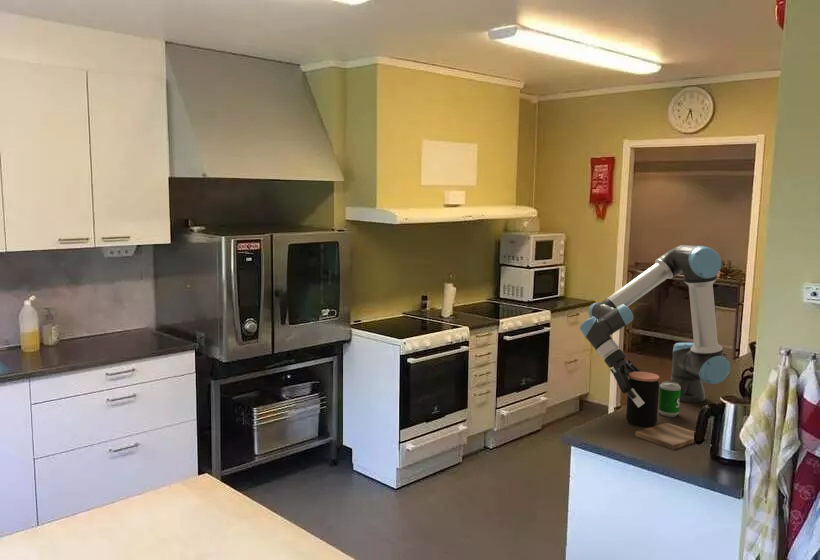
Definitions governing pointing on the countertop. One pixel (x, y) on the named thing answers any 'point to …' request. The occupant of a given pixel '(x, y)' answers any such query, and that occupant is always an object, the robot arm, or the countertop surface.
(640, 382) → the coffee jar
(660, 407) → the soda can
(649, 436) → the walnut board
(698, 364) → the robot arm
